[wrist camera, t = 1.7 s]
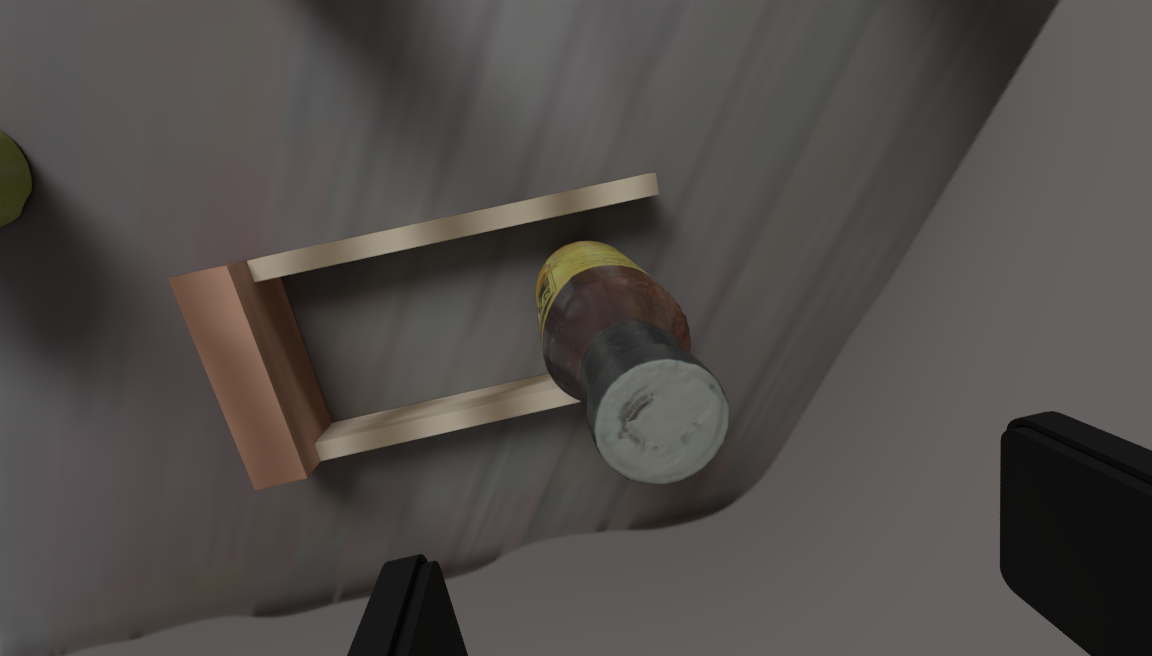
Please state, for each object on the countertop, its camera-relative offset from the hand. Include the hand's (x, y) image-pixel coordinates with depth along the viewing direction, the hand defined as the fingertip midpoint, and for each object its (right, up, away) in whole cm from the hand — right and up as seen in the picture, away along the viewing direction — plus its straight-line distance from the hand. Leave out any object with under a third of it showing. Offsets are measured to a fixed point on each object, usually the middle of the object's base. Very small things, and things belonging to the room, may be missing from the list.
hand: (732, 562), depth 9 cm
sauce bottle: (-2, +6, +26) cm, 27 cm away
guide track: (-10, +4, +25) cm, 27 cm away
